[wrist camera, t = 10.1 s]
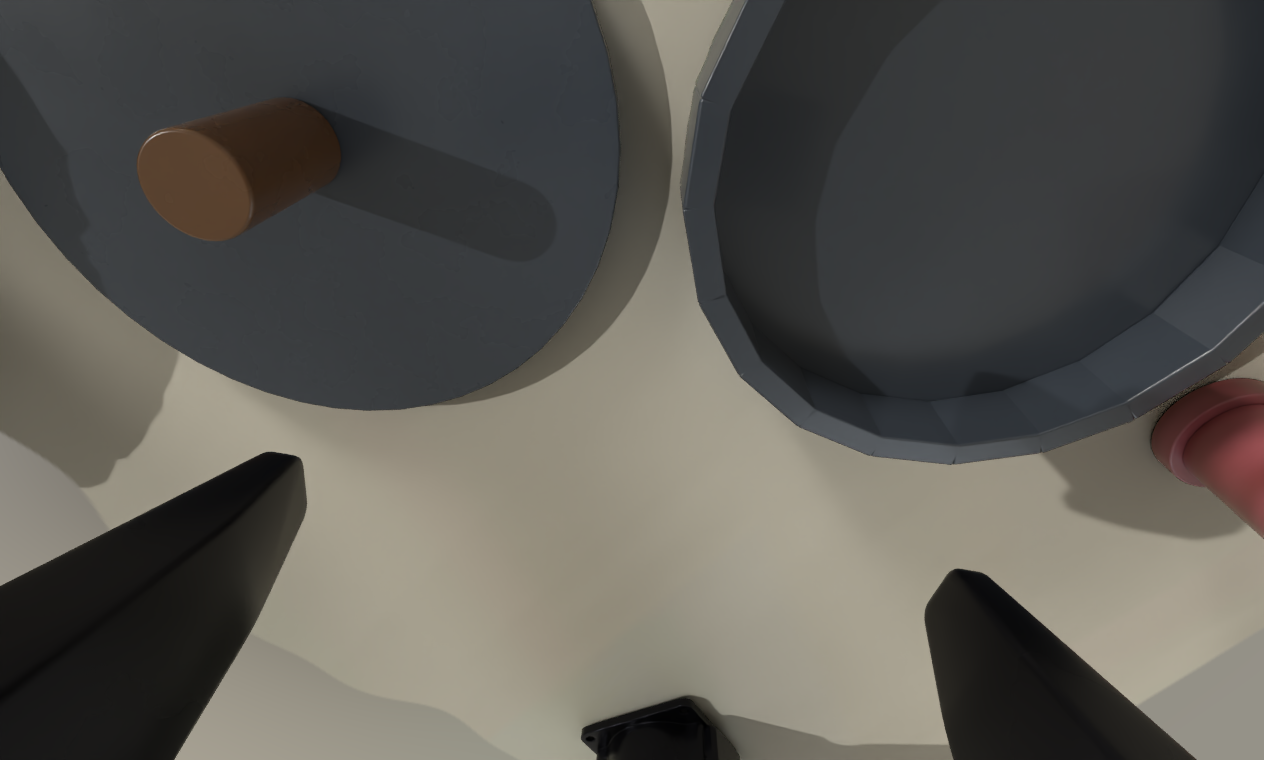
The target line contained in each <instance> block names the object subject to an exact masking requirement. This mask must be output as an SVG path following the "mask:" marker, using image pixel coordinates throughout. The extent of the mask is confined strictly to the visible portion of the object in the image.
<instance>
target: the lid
mask: <svg viewBox="0 0 1264 760" xmlns="http://www.w3.org/2000/svg"><path fill="white" fill-rule="evenodd" d="M620 153H621V138H620V123H619V108H618V97H617V92H616V87H615V82H614V76H613V71H612V66H611V60H610V55H609V51H608V47H607V44H606V41H605V38H604V35H603V31H602V28H601V25H600V22H599V19H598V16H597V12H596V9H595V6H594V3H593V0H0V168H1V170H2V171H3V173H4V175H5V177H6V178H7V180H8V182H9V184H10V185H11V187H12V188H13V189H14V191H15V192H16V194H17V195H18V197H19V198H20V199H21V201H22V202H23V204H24V205H25V207H26V208H27V210H28V211H29V212H30V214H31V215H32V217H33V218H34V220H35V221H36V222H37V224H38V225H39V226H40V227H41V228H42V230H43V231H44V232H45V233H46V234H47V236H48V237H49V238H50V239H51V240H52V242H53V243H54V244H55V245H56V246H57V248H58V249H59V250H60V251H61V252H62V254H63V255H64V256H65V257H66V258H67V259H68V260H69V261H70V262H71V263H72V264H73V265H74V266H75V267H76V268H77V269H78V270H79V271H80V273H81V274H82V275H83V276H84V277H85V278H86V279H87V280H88V281H89V282H90V283H91V284H92V285H93V286H94V287H95V288H96V289H97V290H98V291H100V292H101V293H102V294H103V295H104V296H105V297H107V298H108V299H109V300H110V301H111V302H112V303H114V304H115V305H116V306H117V307H118V308H119V309H121V310H122V311H123V312H124V313H125V314H126V315H128V316H129V317H130V318H131V319H133V320H134V321H136V322H137V323H138V324H140V325H141V326H142V327H144V328H145V329H147V330H148V331H149V332H151V333H152V334H154V335H155V336H156V337H158V338H159V339H160V340H162V341H163V342H165V343H167V344H168V345H170V346H172V347H173V348H175V349H176V350H178V351H180V352H181V353H183V354H185V355H186V356H188V357H190V358H191V359H193V360H195V361H196V362H198V363H200V364H202V365H204V366H206V367H208V368H210V369H212V370H215V371H217V372H219V373H221V374H223V375H225V376H227V377H229V378H231V379H233V380H236V381H238V382H241V383H243V384H246V385H249V386H251V387H254V388H256V389H259V390H262V391H264V392H267V393H271V394H274V395H278V396H281V397H285V398H288V399H292V400H295V401H299V402H303V403H309V404H315V405H320V406H326V407H331V408H340V409H353V410H366V411H371V410H400V409H407V408H414V407H420V406H427V405H433V404H436V403H440V402H443V401H447V400H451V399H454V398H458V397H461V396H464V395H466V394H468V393H471V392H473V391H476V390H478V389H480V388H483V387H485V386H487V385H490V384H492V383H493V382H495V381H497V380H498V379H500V378H502V377H503V376H505V375H507V374H508V373H510V372H512V371H513V370H515V369H517V368H518V367H519V366H521V365H522V364H523V363H524V362H526V361H527V360H528V359H529V358H530V357H532V356H533V355H534V354H535V353H537V352H538V351H539V350H540V349H542V348H543V347H544V345H545V344H546V343H547V342H548V341H549V340H550V339H551V338H552V337H553V336H554V335H555V334H556V333H557V331H558V330H559V329H560V328H561V327H562V326H563V325H564V324H565V322H566V321H567V319H568V318H569V316H570V315H571V314H572V312H573V311H574V309H575V308H576V306H577V305H578V303H579V302H580V301H581V299H582V298H583V296H584V294H585V292H586V290H587V288H588V286H589V284H590V282H591V280H592V278H593V276H594V274H595V272H596V270H597V268H598V266H599V263H600V260H601V257H602V254H603V251H604V248H605V245H606V242H607V239H608V236H609V233H610V229H611V224H612V219H613V214H614V208H615V203H616V198H617V193H618V187H619V170H620Z"/></svg>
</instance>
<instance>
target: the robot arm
mask: <svg viewBox="0 0 1264 760" xmlns="http://www.w3.org/2000/svg"><path fill="white" fill-rule="evenodd" d="M306 508H307V497H306V488H305V478H304V469H303V463H302V461H301V459H300V458H299V457H297V456H294V455H288V454H282V453H276V452H265V453H262V454H260V455H258V456H256V457H254V458H252V459H250V460H248V461H246V462H244V463H242V464H240V465H238V466H236V467H234V468H232V469H230V470H228V471H226V472H224V473H222V474H220V475H219V476H217V477H215V478H213V479H211V480H209V481H207V482H205V483H203V484H201V485H199V486H197V487H195V488H193V489H191V490H189V491H187V492H185V493H183V494H181V495H179V496H177V497H175V498H173V499H171V500H169V501H167V502H165V503H163V504H161V505H159V506H157V507H155V508H153V509H151V510H149V511H147V512H145V513H144V514H142V515H140V516H138V517H136V518H134V519H132V520H130V521H128V522H126V523H124V524H122V525H120V526H118V527H116V528H114V529H112V530H110V531H108V532H106V533H104V534H102V535H100V536H98V537H96V538H94V539H92V540H90V541H88V542H87V543H84V544H82V545H80V546H78V547H77V548H74V549H72V550H70V551H68V552H67V553H65V554H63V555H61V556H59V557H57V558H55V559H53V560H51V561H49V562H47V563H45V564H43V565H41V566H39V567H37V568H35V569H33V570H31V571H29V572H27V573H25V574H23V575H21V576H19V577H17V578H15V579H14V580H11V581H9V582H7V583H5V584H3V585H2V586H0V760H174V759H175V758H176V756H177V754H178V753H179V751H180V749H181V747H182V746H183V744H184V743H185V741H186V739H187V738H188V736H189V734H190V732H191V731H192V729H193V727H194V726H195V724H196V723H197V721H198V719H199V718H200V716H201V714H202V713H203V711H204V709H205V707H206V706H207V704H208V703H209V701H210V699H211V698H212V696H213V694H214V693H215V691H216V689H217V688H218V686H219V684H220V682H221V681H222V679H223V677H224V676H225V674H226V673H227V671H228V669H229V668H230V666H231V664H232V663H233V661H234V659H235V657H236V656H237V654H238V653H239V651H240V649H241V648H242V646H243V644H244V642H245V641H246V639H247V637H248V635H249V634H250V632H251V630H252V628H253V627H254V625H255V623H256V621H257V619H258V617H259V615H260V612H261V610H262V608H263V606H264V604H265V602H266V600H267V598H268V595H269V593H270V591H271V589H272V587H273V585H274V582H275V580H276V578H277V576H278V574H279V571H280V569H281V567H282V565H283V563H284V561H285V558H286V556H287V554H288V552H289V550H290V548H291V545H292V543H293V541H294V539H295V537H296V535H297V532H298V530H299V528H300V526H301V524H302V521H303V519H304V516H305V513H306ZM925 626H926V632H927V637H928V642H929V648H930V653H931V658H932V664H933V669H934V675H935V680H936V685H937V691H938V696H939V701H940V707H941V712H942V716H943V721H944V726H945V730H946V734H947V738H948V741H949V745H950V749H951V752H952V756H953V759H954V760H1196V759H1195V758H1194V757H1193V756H1192V755H1191V754H1189V753H1188V752H1187V751H1186V750H1185V749H1184V748H1183V747H1181V746H1180V745H1179V744H1178V743H1177V742H1176V741H1175V740H1174V739H1173V738H1171V737H1170V736H1169V735H1168V734H1167V733H1166V732H1165V731H1163V730H1162V729H1161V728H1160V727H1159V726H1158V725H1157V724H1155V723H1154V722H1153V721H1152V720H1151V719H1150V718H1149V717H1148V716H1146V715H1145V714H1144V713H1143V712H1142V711H1141V710H1140V709H1138V708H1137V707H1136V706H1135V705H1134V704H1133V703H1132V702H1130V701H1129V700H1128V699H1127V698H1126V697H1125V696H1124V695H1122V694H1121V693H1120V692H1119V691H1118V690H1117V689H1116V688H1115V687H1113V686H1112V685H1111V684H1110V683H1109V682H1108V681H1107V680H1105V679H1104V678H1103V677H1102V676H1101V675H1100V674H1099V673H1097V672H1096V671H1095V670H1094V669H1093V668H1092V667H1091V666H1090V665H1088V664H1087V663H1086V662H1085V661H1084V660H1083V659H1082V658H1080V657H1079V656H1078V655H1077V654H1076V653H1075V652H1074V651H1072V650H1071V649H1070V648H1069V647H1068V646H1067V645H1066V644H1064V643H1063V642H1062V641H1061V640H1060V639H1059V638H1058V637H1057V636H1055V635H1054V634H1053V633H1052V632H1051V631H1050V630H1049V629H1047V628H1046V627H1045V626H1044V625H1043V624H1042V623H1041V622H1039V621H1038V620H1037V619H1036V618H1035V617H1034V616H1033V615H1032V614H1030V613H1029V612H1028V611H1027V610H1026V609H1025V608H1024V607H1022V606H1021V605H1020V604H1019V603H1018V602H1017V601H1016V600H1014V599H1013V598H1012V597H1011V596H1010V595H1009V594H1008V593H1007V592H1005V591H1004V590H1003V589H1002V588H1001V587H1000V586H999V585H997V584H996V583H995V582H994V581H993V580H992V579H991V578H989V577H988V576H987V575H985V574H983V573H980V572H976V571H970V570H964V569H954V570H952V571H950V572H949V573H948V574H947V576H946V577H945V578H944V580H943V581H942V583H941V584H940V586H939V587H938V589H937V590H936V592H935V593H934V594H933V596H932V597H931V599H930V600H929V602H928V604H927V606H926V609H925ZM581 740H582V741H583V742H584V743H585V744H586V745H587V746H588V747H589V748H590V749H591V750H593V751H594V752H595V753H596V754H597V760H740V756H739V754H738V753H737V752H736V750H735V748H734V747H733V746H732V745H731V744H730V742H729V741H728V740H727V739H726V738H725V737H724V735H723V734H722V733H721V732H720V731H719V730H718V729H717V727H715V726H714V725H713V724H712V723H711V722H710V721H709V720H708V718H707V717H706V716H705V715H704V714H703V713H702V711H701V710H700V709H699V708H698V707H697V706H696V705H695V703H694V702H693V701H692V700H690V699H687V698H681V699H677V700H674V701H670V702H667V703H664V704H660V705H657V706H653V707H650V708H647V709H643V710H640V711H637V712H633V713H630V714H626V715H623V716H620V717H616V718H613V719H610V720H606V721H603V722H599V723H596V724H593V725H589V726H586V727H584V728H583V729H582V735H581Z"/></svg>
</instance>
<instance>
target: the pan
mask: <svg viewBox="0 0 1264 760" xmlns="http://www.w3.org/2000/svg"><path fill="white" fill-rule="evenodd" d="M695 84H696V86H695V88H694V92H693V99H692V106H691V112H690V117H689V121H688V125H687V134H686V143H685V152H684V160H683V167H682V174H681V181H680V184H681V186H680V191H681V199H682V207H683V215H684V221H685V227H686V233H687V238H688V244H689V250H690V256H691V262H692V268H693V274H694V280H695V286H696V292H697V298H698V302H699V305H700V307H701V309H702V311H703V313H704V314H705V316H706V318H707V320H708V322H709V323H710V325H711V327H712V329H713V330H714V332H715V334H716V336H717V338H718V339H719V341H720V343H721V345H722V346H723V348H724V350H725V352H726V354H727V355H728V357H729V359H730V361H731V363H732V364H733V366H734V368H735V370H736V371H737V373H738V374H739V375H740V377H741V378H742V379H743V380H744V381H746V382H747V383H748V384H749V385H750V386H751V387H752V388H754V389H755V390H756V391H757V392H758V393H759V394H761V395H762V396H763V397H764V398H765V399H766V400H768V401H769V402H770V403H771V404H772V405H773V406H775V407H776V408H777V409H778V410H779V411H780V412H782V413H783V414H784V415H785V416H786V417H787V418H789V419H790V420H791V421H792V422H793V423H794V424H796V425H797V426H799V427H800V428H803V429H805V430H808V431H810V432H813V433H815V434H817V435H820V436H822V437H825V438H827V439H830V440H832V441H835V442H837V443H839V444H842V445H844V446H847V447H849V448H852V449H854V450H857V451H859V452H861V453H864V454H866V455H869V456H870V455H871V456H875V457H884V458H893V459H902V460H912V461H921V462H930V463H939V464H948V465H952V464H962V463H969V462H977V461H984V460H992V459H1000V458H1007V457H1015V456H1022V455H1030V454H1037V453H1040V452H1042V453H1044V452H1047V451H1049V450H1052V449H1055V448H1058V447H1061V446H1063V445H1066V444H1069V443H1072V442H1075V441H1077V440H1080V439H1083V438H1086V437H1089V436H1092V435H1094V434H1097V433H1100V432H1103V431H1106V430H1108V429H1111V428H1114V427H1117V426H1120V425H1122V424H1125V423H1128V422H1131V421H1133V420H1134V418H1135V419H1136V418H1138V417H1140V416H1142V415H1143V414H1145V413H1147V412H1148V411H1150V410H1152V409H1153V408H1155V407H1157V406H1159V405H1160V404H1162V403H1164V402H1165V401H1167V400H1169V399H1170V398H1172V397H1174V396H1175V395H1177V394H1179V393H1180V392H1182V391H1184V390H1185V389H1187V388H1189V387H1190V386H1192V385H1194V384H1195V383H1197V382H1199V381H1200V380H1202V379H1204V378H1206V377H1207V376H1209V375H1211V374H1212V373H1214V372H1216V371H1217V370H1219V369H1221V368H1222V367H1224V366H1225V365H1226V363H1229V362H1231V361H1232V360H1233V359H1234V358H1235V357H1237V356H1238V355H1239V354H1240V353H1241V352H1242V351H1243V350H1244V349H1245V348H1247V347H1248V346H1249V345H1250V344H1251V343H1252V342H1253V341H1254V340H1256V339H1257V338H1258V337H1259V336H1260V335H1261V334H1262V333H1263V332H1264V0H733V1H732V3H731V5H730V7H729V9H728V11H727V13H726V15H725V17H724V19H723V21H722V23H721V25H720V27H719V29H718V31H717V33H716V35H715V37H714V39H713V42H712V44H711V47H710V50H709V53H708V55H707V58H706V61H705V63H704V65H703V67H702V69H701V72H700V74H699V76H698V78H697V80H696V83H695Z"/></svg>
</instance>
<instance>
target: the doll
mask: <svg viewBox="0 0 1264 760" xmlns="http://www.w3.org/2000/svg"><path fill="white" fill-rule="evenodd" d="M1151 445H1152V450H1153V453H1154V455H1155V457H1156V458H1157V459H1158V461H1159V462H1160V463H1162V464H1163V465H1164V466H1165V467H1166V468H1167V469H1168V470H1169V471H1170V472H1171V473H1172V474H1173V475H1174V476H1175V477H1177V478H1178V479H1179V480H1181V481H1183V482H1185V483H1187V484H1190V485H1194V486H1199V487H1207V488H1208V489H1209V490H1210V491H1211V492H1212V493H1213V494H1214V495H1215V496H1217V497H1218V498H1219V499H1220V500H1221V501H1222V502H1223V503H1224V504H1225V505H1227V506H1228V507H1229V508H1230V509H1231V510H1232V511H1233V512H1234V513H1235V514H1237V515H1238V516H1239V517H1240V518H1241V519H1242V520H1243V521H1244V522H1245V523H1247V524H1248V525H1249V526H1250V527H1251V528H1252V529H1253V530H1254V531H1256V532H1257V533H1258V534H1259V535H1260V536H1261V537H1262V538H1263V539H1264V382H1261V381H1258V380H1254V379H1246V378H1234V379H1227V380H1222V381H1217V382H1214V383H1211V384H1208V385H1205V386H1203V387H1200V388H1198V389H1196V390H1194V391H1192V392H1191V393H1189V394H1187V395H1186V396H1184V397H1183V398H1181V399H1180V400H1178V401H1177V402H1176V403H1175V404H1173V405H1172V406H1171V407H1170V408H1169V409H1168V410H1167V411H1166V412H1165V413H1164V414H1163V416H1162V417H1161V418H1160V420H1159V421H1158V423H1157V424H1156V426H1155V429H1154V431H1153V434H1152V440H1151Z"/></svg>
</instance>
